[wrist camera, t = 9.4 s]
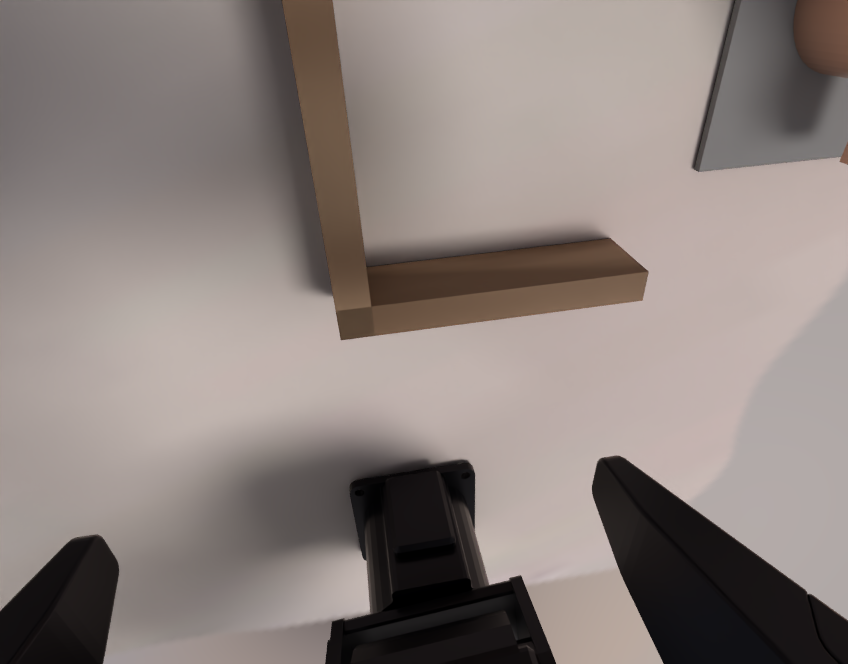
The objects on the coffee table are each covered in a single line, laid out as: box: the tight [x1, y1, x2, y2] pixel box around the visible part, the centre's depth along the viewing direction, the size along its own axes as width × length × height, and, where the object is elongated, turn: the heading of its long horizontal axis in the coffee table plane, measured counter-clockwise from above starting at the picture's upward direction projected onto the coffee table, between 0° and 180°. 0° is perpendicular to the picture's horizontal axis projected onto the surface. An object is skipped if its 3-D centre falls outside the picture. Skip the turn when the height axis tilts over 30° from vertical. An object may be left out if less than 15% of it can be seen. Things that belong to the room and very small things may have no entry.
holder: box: [282, 0, 649, 340], centre depth 15 cm, size 18×11×3 cm, turn 3°
